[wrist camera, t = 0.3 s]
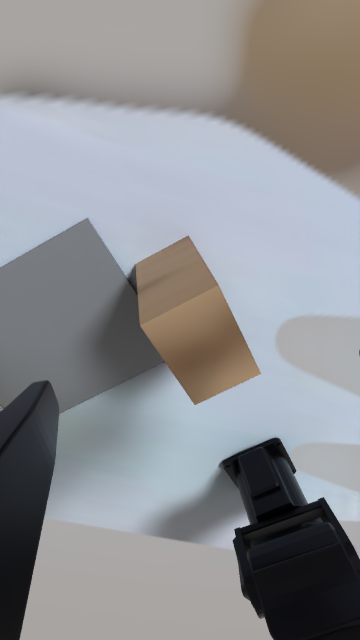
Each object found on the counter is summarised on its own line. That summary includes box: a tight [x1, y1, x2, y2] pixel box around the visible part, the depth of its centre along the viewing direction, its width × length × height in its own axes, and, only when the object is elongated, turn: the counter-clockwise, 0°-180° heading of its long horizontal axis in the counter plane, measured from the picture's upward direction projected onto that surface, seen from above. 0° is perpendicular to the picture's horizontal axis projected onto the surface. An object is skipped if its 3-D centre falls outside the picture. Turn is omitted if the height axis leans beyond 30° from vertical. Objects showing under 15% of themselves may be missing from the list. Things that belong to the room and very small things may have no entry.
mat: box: [0, 218, 165, 414], centre depth 23 cm, size 12×14×1 cm
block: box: [135, 236, 261, 405], centre depth 19 cm, size 6×4×8 cm
